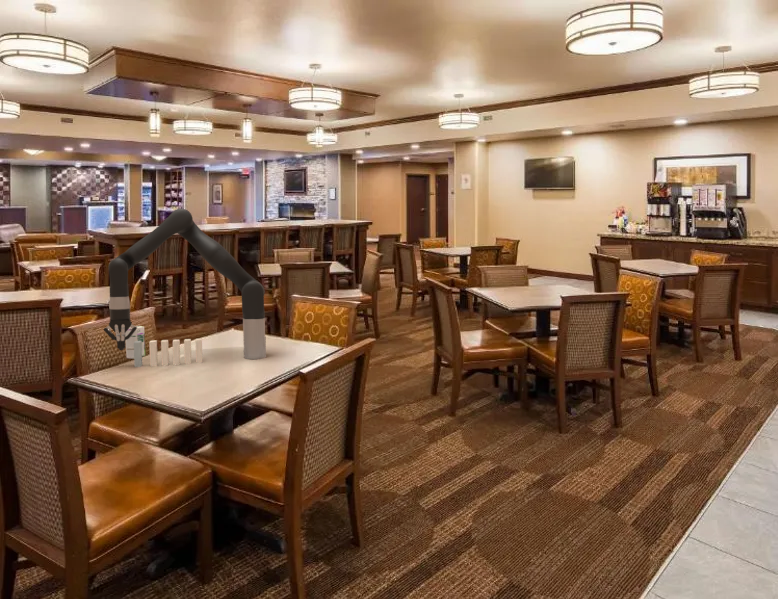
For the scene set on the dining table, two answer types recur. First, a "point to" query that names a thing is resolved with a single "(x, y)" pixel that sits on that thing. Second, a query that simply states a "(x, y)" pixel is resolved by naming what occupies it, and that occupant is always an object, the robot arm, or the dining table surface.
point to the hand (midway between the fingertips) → (121, 349)
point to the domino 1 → (138, 353)
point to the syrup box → (136, 336)
